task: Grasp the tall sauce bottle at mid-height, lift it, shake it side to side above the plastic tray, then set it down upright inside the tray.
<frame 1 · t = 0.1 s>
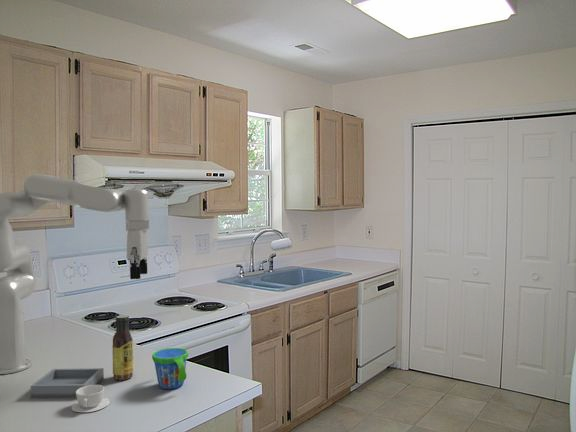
hand: (139, 276, 168), 31 cm above the table, fingers open, 9 cm apart
snack cup: (171, 386, 153), on the table
sauce bottle: (123, 378, 160), on the table
tray: (69, 387, 152), on the table
teacup: (90, 406, 140), on the table
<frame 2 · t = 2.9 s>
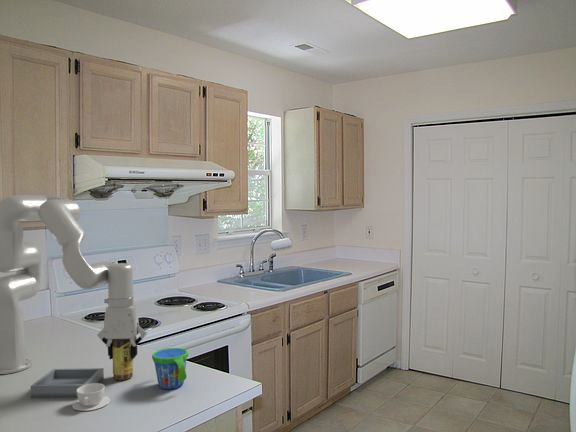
hand: (122, 357, 160), 7 cm above the table, fingers closed on sauce bottle, 6 cm apart
sauce bottle: (123, 378, 160), on the table, touching gripper
teacup: (91, 405, 141), on the table
everything else where it was.
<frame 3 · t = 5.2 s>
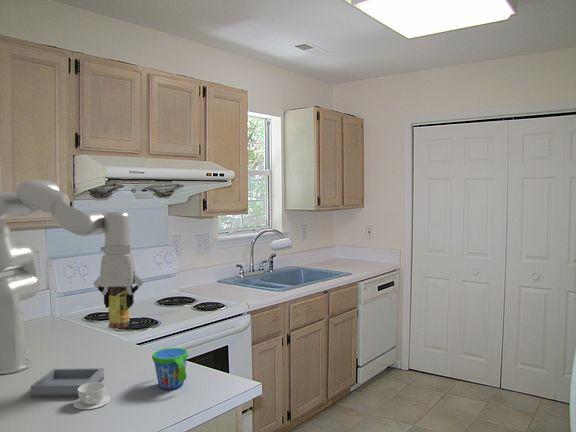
hand: (119, 306, 159), 23 cm above the table, fingers closed on sauce bottle, 6 cm apart
sauce bottle: (119, 327, 159), point 16 cm above the table, touching gripper
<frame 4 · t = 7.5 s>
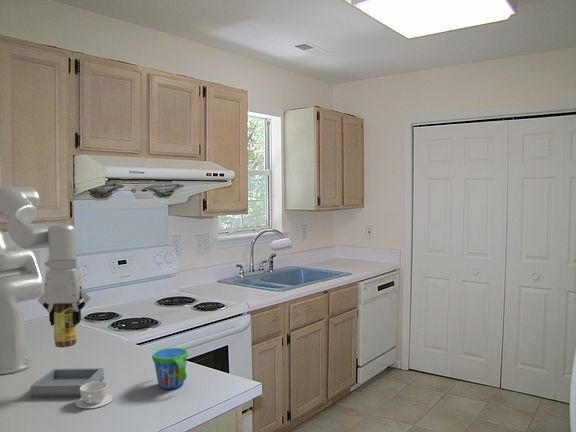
hand: (65, 323, 151), 20 cm above the table, fingers closed on sauce bottle, 6 cm apart
sauce bottle: (66, 345, 151), point 13 cm above the table, touching gripper
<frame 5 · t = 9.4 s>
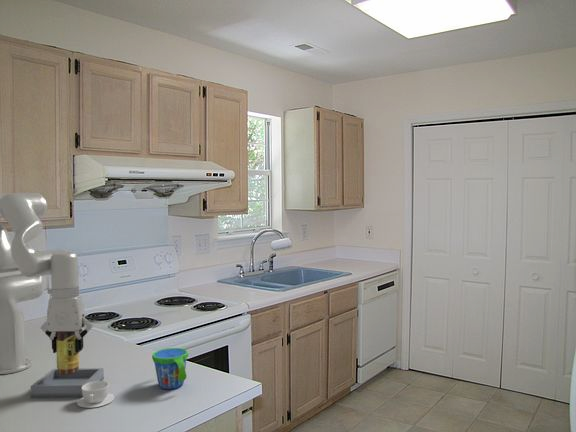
hand: (67, 350, 152), 12 cm above the table, fingers closed on sauce bottle, 6 cm apart
sauce bottle: (68, 372, 152), point 5 cm above the table, touching gripper
when the fingers open (8 cm above the table, at t = 10.7 s): sauce bottle stays where it is, resting on tray.
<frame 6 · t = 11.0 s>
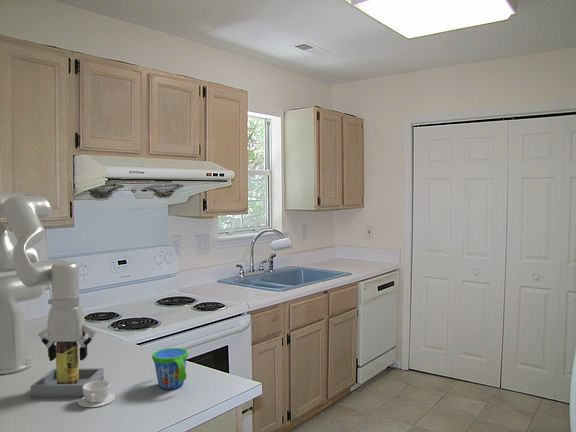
hand: (68, 359, 152), 9 cm above the table, fingers open, 8 cm apart
sauce bottle: (68, 385, 152), point 1 cm above the table, touching tray
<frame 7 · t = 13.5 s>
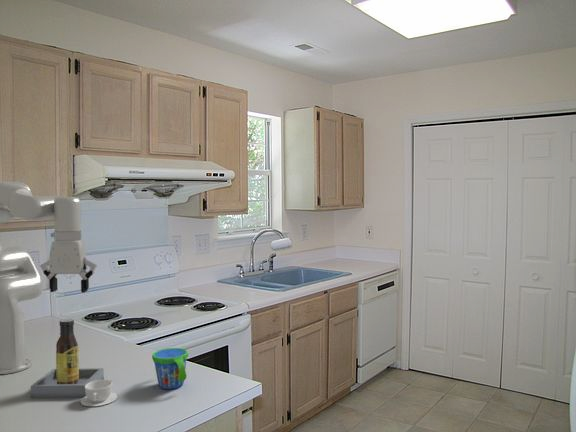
hand: (69, 291, 155), 29 cm above the table, fingers open, 9 cm apart
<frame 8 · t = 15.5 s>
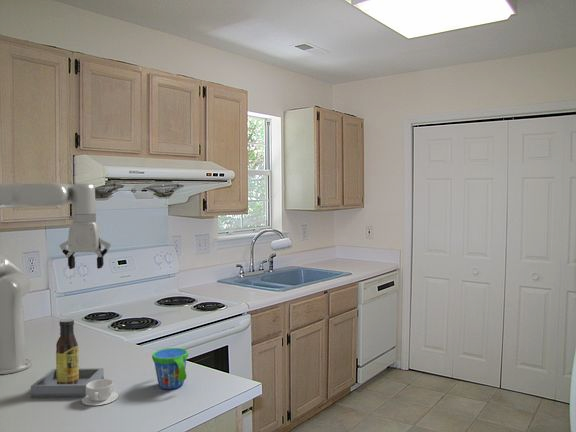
hand: (86, 268, 174), 33 cm above the table, fingers open, 9 cm apart
at the end: sauce bottle inside the target area on the tray (0.3 cm from its centre), point 0.8 cm above the tray's base; sauce bottle tilted 0°; the gripper is holding nothing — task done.
